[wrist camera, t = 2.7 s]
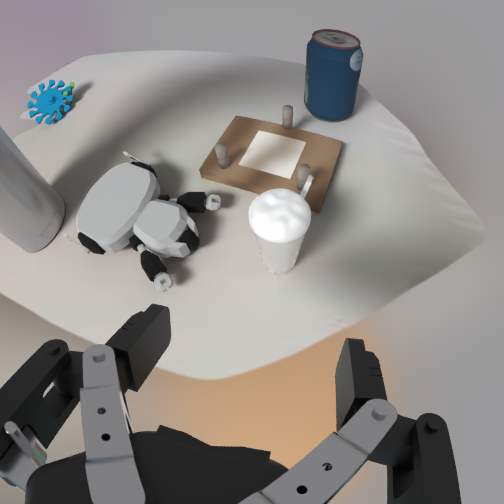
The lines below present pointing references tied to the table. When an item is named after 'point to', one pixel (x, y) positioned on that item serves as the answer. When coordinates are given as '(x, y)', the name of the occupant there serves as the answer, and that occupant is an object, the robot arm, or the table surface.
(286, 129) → the pin plate
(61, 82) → the gear
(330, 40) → the soda can
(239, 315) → the table surface
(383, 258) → the table surface
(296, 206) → the milkshake
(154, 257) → the robot toy
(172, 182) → the table surface
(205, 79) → the table surface
